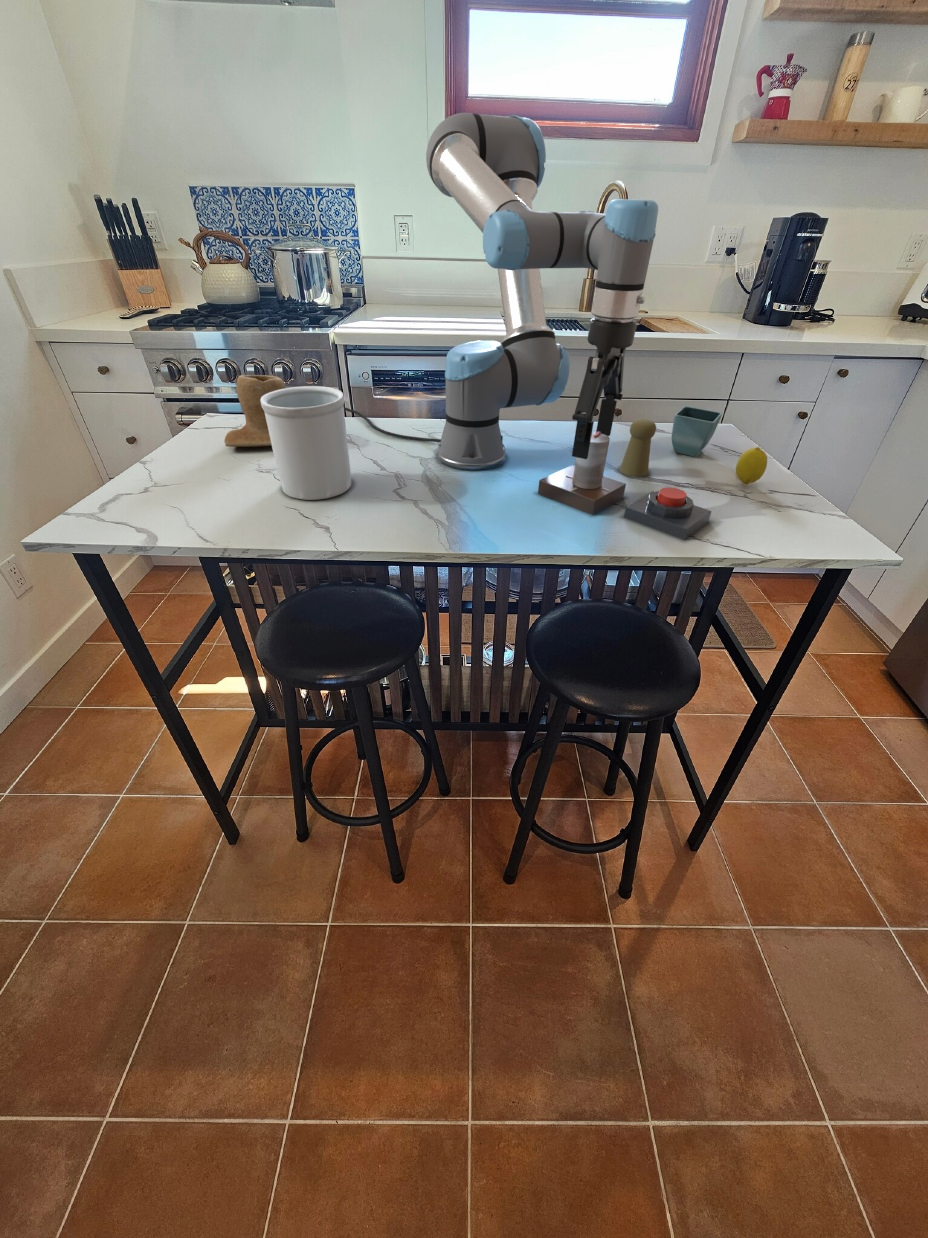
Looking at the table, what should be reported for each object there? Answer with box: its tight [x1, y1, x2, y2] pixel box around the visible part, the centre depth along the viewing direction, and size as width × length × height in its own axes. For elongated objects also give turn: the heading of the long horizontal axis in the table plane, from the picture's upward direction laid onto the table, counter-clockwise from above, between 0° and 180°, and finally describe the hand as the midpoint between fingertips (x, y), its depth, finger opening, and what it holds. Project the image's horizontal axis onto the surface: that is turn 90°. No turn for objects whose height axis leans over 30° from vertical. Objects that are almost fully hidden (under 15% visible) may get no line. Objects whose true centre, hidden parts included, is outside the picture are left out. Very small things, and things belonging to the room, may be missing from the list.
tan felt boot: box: [223, 374, 286, 448], centre depth 125 cm, size 15×12×15 cm
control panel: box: [537, 464, 627, 516], centre depth 108 cm, size 13×11×3 cm
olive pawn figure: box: [619, 418, 657, 478], centre depth 116 cm, size 6×6×11 cm
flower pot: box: [671, 406, 723, 458], centre depth 127 cm, size 9×9×9 cm
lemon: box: [735, 446, 768, 486], centre depth 113 cm, size 6×6×8 cm
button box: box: [623, 490, 712, 541], centre depth 101 cm, size 12×10×4 cm
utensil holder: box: [260, 385, 352, 501], centre depth 105 cm, size 15×15×18 cm
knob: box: [573, 431, 611, 489], centre depth 104 cm, size 6×6×9 cm
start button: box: [657, 486, 688, 507], centre depth 99 cm, size 5×5×2 cm
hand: (591, 445), depth 103 cm, fingers open, 13 cm apart
